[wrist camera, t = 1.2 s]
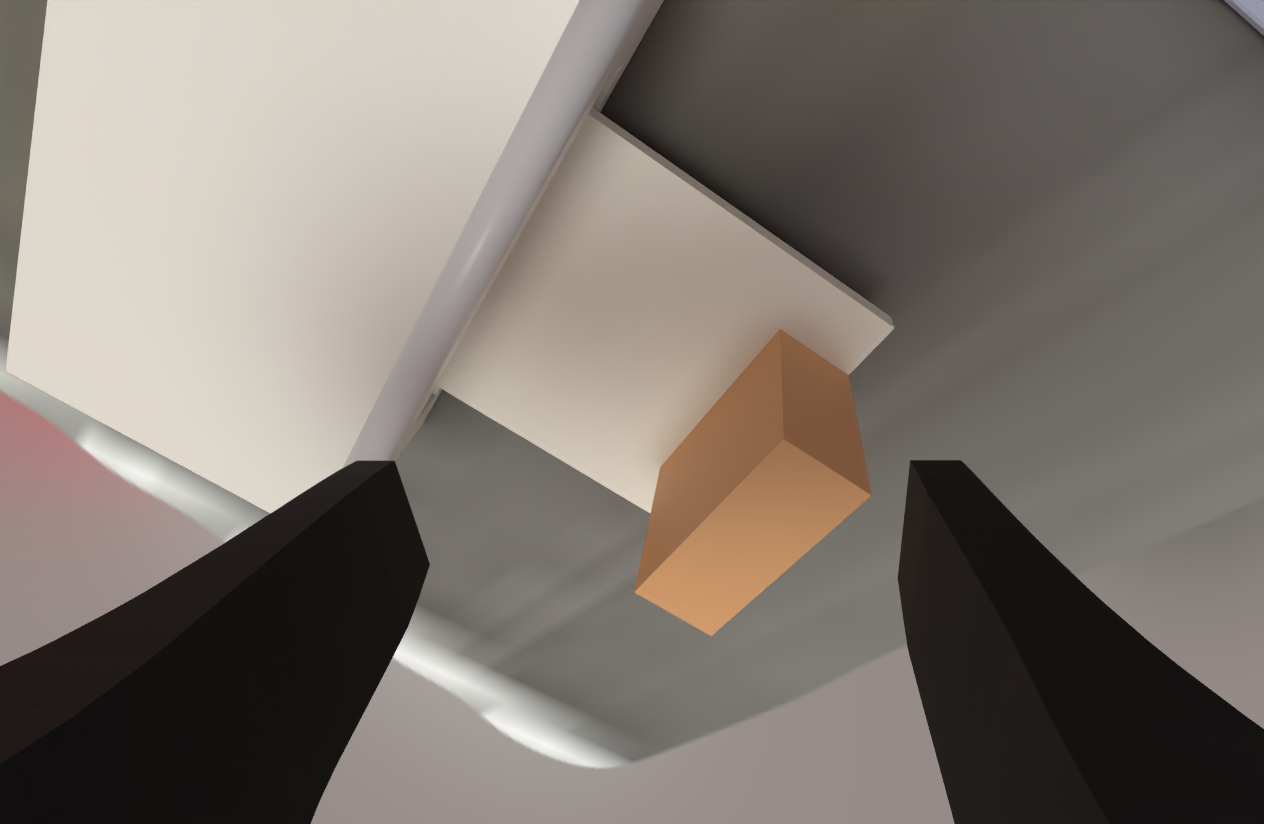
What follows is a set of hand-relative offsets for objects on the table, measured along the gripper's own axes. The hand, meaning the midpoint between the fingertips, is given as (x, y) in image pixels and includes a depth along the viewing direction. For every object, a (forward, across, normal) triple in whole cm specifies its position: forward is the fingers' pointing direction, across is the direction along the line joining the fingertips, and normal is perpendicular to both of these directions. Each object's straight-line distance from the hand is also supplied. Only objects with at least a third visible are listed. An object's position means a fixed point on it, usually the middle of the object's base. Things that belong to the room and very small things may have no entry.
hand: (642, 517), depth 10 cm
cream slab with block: (+8, +3, 0) cm, 9 cm away
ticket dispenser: (+10, +7, -4) cm, 13 cm away
